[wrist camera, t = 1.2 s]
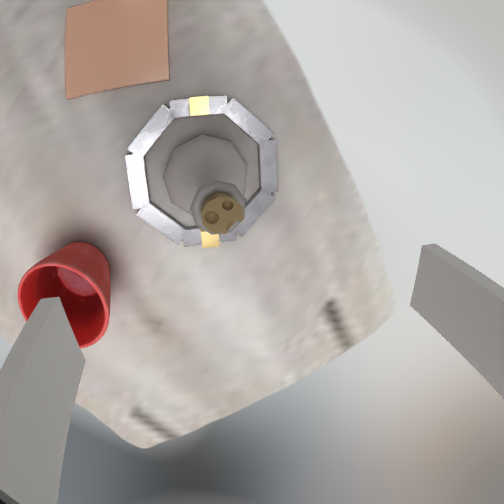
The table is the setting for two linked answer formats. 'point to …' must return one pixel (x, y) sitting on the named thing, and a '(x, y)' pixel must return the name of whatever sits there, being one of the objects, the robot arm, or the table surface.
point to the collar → (196, 108)
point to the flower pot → (72, 289)
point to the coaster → (115, 45)
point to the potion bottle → (208, 183)
